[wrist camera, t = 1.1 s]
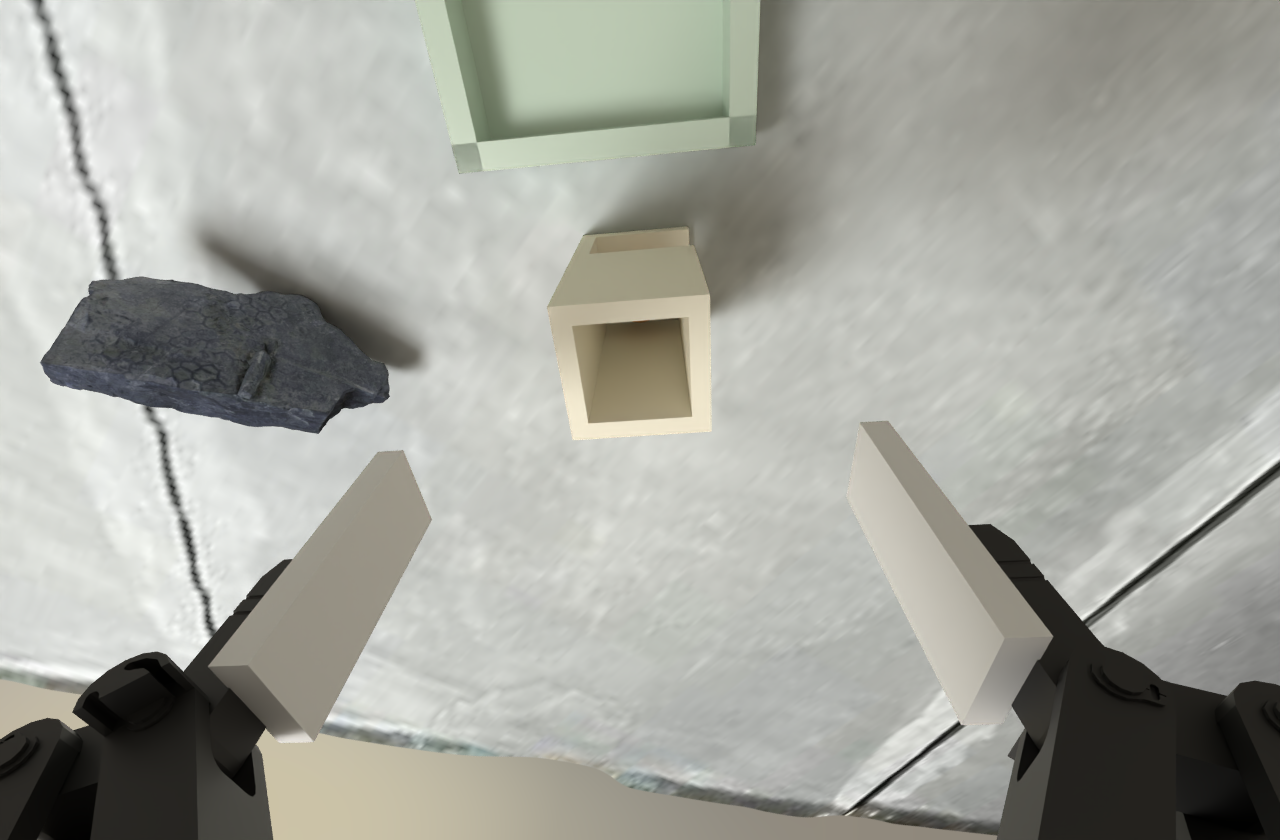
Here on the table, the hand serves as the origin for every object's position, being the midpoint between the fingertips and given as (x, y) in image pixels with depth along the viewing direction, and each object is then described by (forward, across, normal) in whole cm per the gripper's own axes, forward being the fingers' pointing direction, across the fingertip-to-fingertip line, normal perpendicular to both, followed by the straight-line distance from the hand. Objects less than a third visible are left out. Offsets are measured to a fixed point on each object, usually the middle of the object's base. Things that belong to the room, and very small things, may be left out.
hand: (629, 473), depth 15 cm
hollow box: (+18, 0, 0) cm, 18 cm away
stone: (+18, -22, -1) cm, 29 cm away
